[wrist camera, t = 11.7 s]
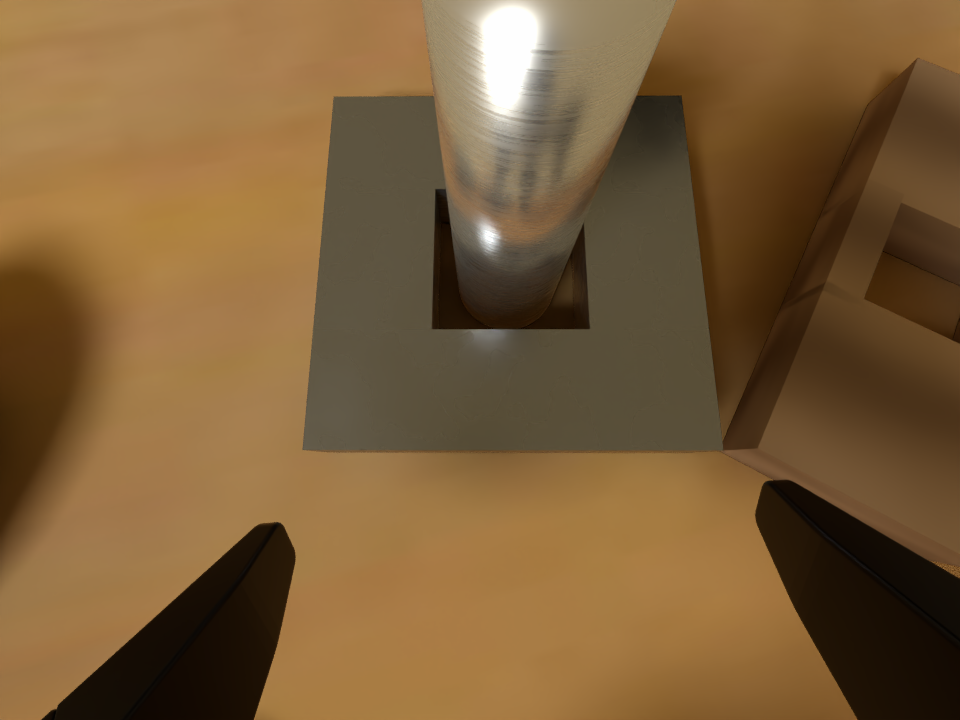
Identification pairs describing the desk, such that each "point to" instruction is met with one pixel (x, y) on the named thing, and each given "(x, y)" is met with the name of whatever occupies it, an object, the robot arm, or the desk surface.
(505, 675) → the desk surface
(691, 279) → the block
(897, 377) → the wooden block with hole
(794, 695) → the desk surface
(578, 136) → the steel axle
